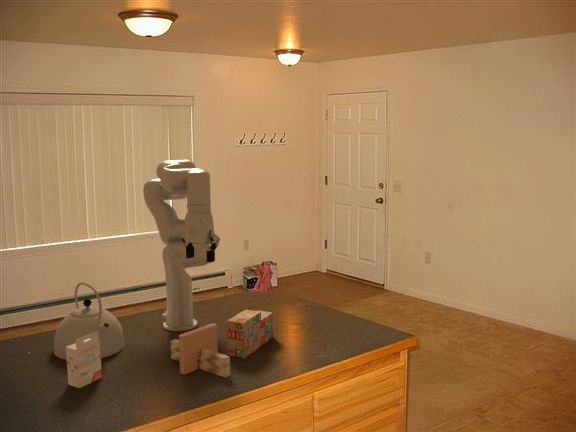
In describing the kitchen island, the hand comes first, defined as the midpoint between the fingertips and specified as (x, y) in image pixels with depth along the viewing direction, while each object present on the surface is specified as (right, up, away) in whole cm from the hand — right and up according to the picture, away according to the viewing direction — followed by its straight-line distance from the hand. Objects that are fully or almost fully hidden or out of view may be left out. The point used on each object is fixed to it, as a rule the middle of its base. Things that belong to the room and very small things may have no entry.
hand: (200, 259), depth 197 cm
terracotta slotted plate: (+1, -32, -11) cm, 34 cm away
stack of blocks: (+16, -30, +6) cm, 35 cm away
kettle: (-37, -30, +4) cm, 48 cm away
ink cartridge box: (-31, -34, -22) cm, 51 cm away
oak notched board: (+1, -32, -11) cm, 34 cm away
